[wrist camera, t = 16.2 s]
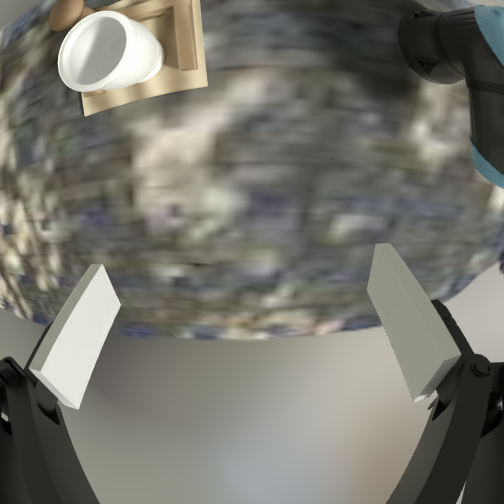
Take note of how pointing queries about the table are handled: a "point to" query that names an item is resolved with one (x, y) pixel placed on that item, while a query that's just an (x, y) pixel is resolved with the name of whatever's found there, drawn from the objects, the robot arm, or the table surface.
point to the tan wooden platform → (164, 30)
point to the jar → (108, 53)
